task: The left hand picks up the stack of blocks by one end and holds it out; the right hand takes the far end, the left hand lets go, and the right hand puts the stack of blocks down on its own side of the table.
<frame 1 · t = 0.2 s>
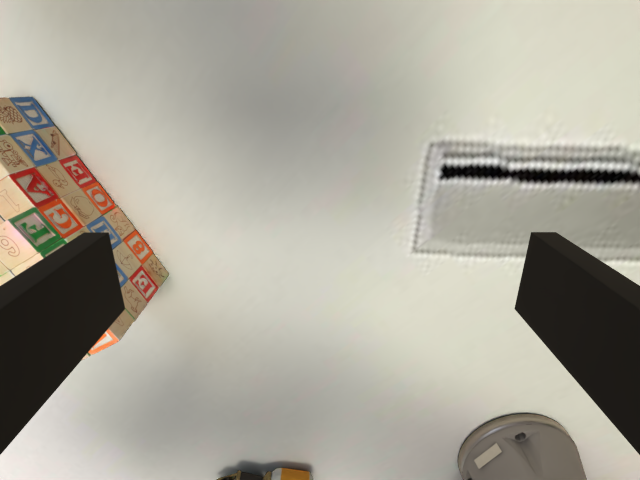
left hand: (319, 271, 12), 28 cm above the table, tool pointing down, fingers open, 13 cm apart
stack of blocks: (85, 207, 41), on the table
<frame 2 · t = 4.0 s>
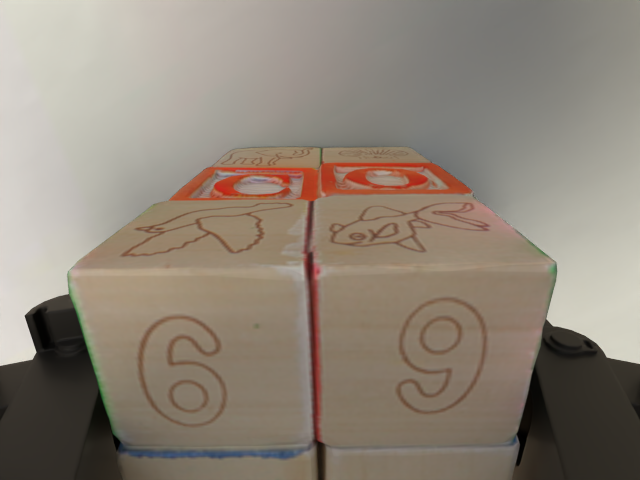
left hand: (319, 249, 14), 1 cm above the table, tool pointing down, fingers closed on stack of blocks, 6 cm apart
stack of blocks: (321, 390, 17), on the table, touching left hand
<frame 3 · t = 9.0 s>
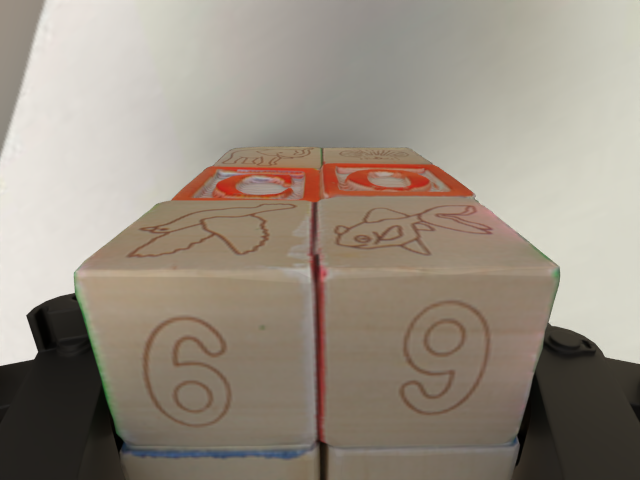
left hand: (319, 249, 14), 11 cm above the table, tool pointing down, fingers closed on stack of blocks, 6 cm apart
stack of blocks: (318, 389, 17), point 11 cm above the table, touching left hand, right hand
when the left hand's fingers open (11 cm above the table, at t = 9.9 s): stack of blocks stays where it is, held by the right hand.
when the right hand's fingers open (4 cm above the table, at t = 14.5 s): stack of blocks stays where it is, on the table.
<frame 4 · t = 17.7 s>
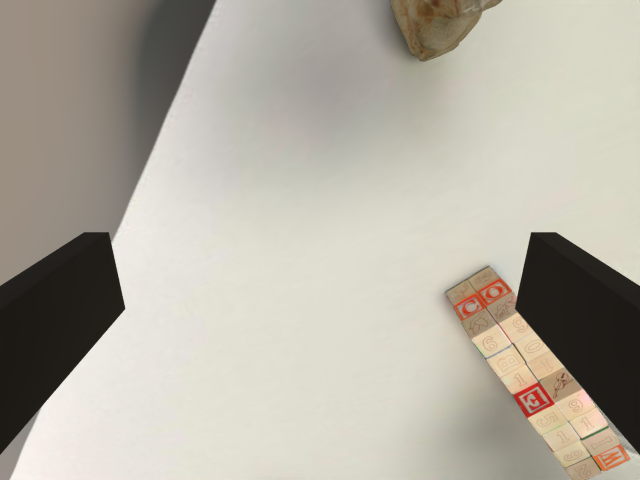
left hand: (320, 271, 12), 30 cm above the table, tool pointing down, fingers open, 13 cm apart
sculpture: (418, 18, 37), on the table
stack of blocks: (507, 337, 50), on the table
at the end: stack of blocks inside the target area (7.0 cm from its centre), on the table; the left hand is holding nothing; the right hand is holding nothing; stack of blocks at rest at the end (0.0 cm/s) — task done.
